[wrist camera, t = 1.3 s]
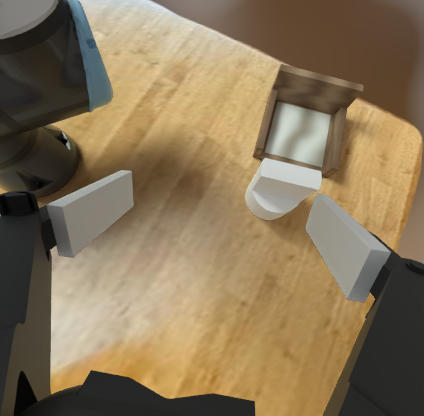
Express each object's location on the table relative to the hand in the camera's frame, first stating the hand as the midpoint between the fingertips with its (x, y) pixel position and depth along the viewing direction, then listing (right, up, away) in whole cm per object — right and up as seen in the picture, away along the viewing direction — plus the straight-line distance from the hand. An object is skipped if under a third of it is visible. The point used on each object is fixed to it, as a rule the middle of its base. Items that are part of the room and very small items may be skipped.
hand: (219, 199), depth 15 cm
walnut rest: (+18, +15, +31) cm, 39 cm away
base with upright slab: (+11, +1, +27) cm, 29 cm away
